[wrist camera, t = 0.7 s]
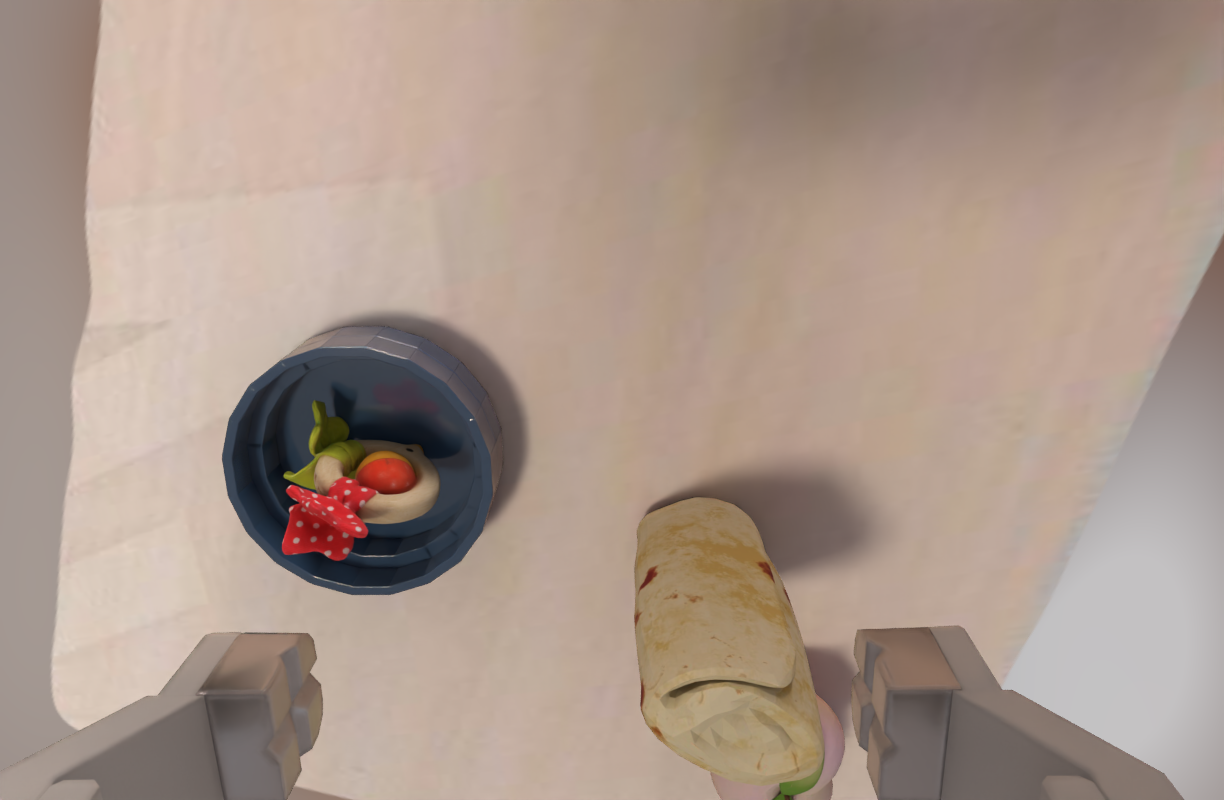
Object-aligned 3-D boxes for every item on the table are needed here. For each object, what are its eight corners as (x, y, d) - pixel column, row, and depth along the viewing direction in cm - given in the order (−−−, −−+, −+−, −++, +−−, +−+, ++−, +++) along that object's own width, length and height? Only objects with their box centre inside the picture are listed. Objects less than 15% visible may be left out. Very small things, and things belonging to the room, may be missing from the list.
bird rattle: (426, 394, 59) (275, 392, 56) (468, 468, 50) (290, 472, 46) (417, 483, 61) (271, 486, 58) (456, 570, 52) (284, 581, 48)
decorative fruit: (717, 639, 63) (732, 737, 53) (837, 657, 63) (873, 758, 53) (691, 752, 66) (701, 865, 56) (805, 769, 66) (834, 884, 56)
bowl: (239, 325, 56) (203, 347, 52) (496, 323, 56) (483, 345, 51) (273, 556, 61) (243, 595, 57) (509, 555, 61) (499, 594, 56)
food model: (618, 552, 61) (610, 765, 42) (658, 465, 59) (670, 647, 40) (754, 604, 62) (808, 834, 43) (798, 520, 60) (875, 722, 41)
